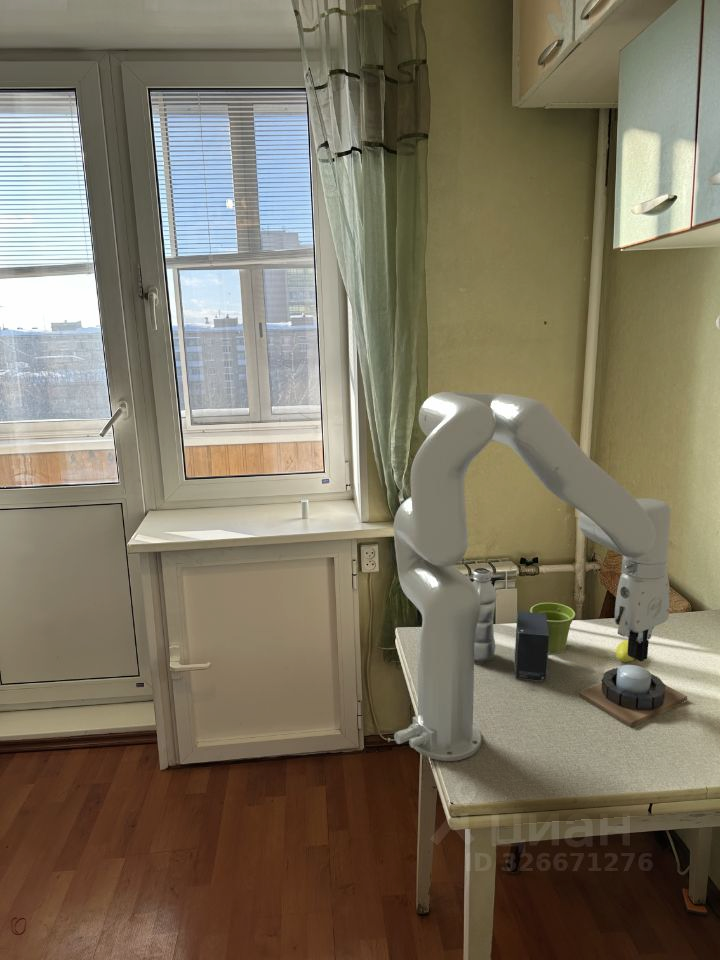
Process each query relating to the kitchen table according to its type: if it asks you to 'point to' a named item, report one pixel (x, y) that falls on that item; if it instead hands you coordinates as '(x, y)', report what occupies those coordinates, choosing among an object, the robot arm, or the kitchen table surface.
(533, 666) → the small box
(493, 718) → the kitchen table surface
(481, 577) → the plastic bottle
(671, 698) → the board
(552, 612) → the plant pot
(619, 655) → the lemon
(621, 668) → the cap
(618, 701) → the segmented ring
